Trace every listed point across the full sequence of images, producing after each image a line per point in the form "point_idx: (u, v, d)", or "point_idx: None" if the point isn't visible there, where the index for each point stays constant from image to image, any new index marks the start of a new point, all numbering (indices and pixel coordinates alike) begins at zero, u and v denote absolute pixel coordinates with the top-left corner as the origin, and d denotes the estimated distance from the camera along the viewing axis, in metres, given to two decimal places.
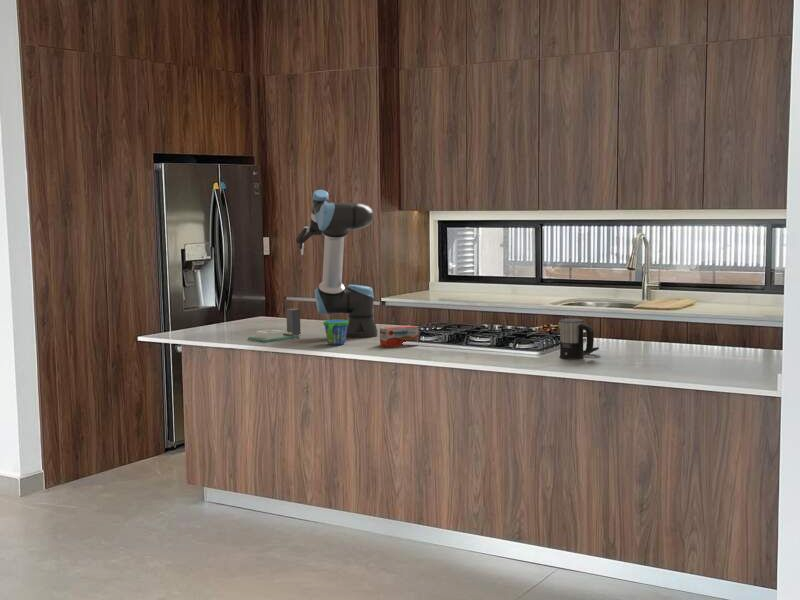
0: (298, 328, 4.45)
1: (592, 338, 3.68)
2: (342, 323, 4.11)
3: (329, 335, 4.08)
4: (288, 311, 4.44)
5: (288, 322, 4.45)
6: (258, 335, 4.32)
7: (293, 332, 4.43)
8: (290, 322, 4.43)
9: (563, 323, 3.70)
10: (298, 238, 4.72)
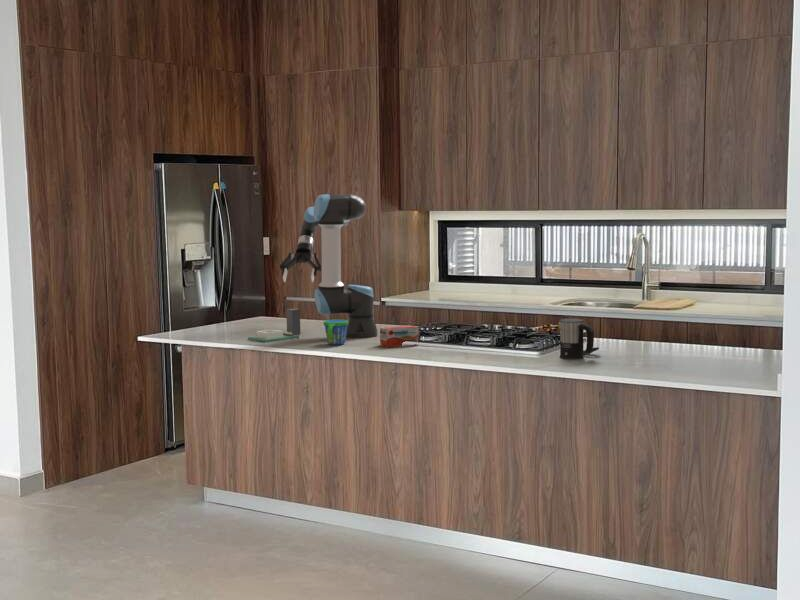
0: (298, 328, 4.45)
1: (592, 338, 3.68)
2: (342, 323, 4.11)
3: (329, 335, 4.08)
4: (288, 311, 4.44)
5: (288, 322, 4.45)
6: (258, 335, 4.32)
7: (293, 332, 4.43)
8: (290, 322, 4.43)
9: (563, 323, 3.71)
10: (282, 264, 4.62)
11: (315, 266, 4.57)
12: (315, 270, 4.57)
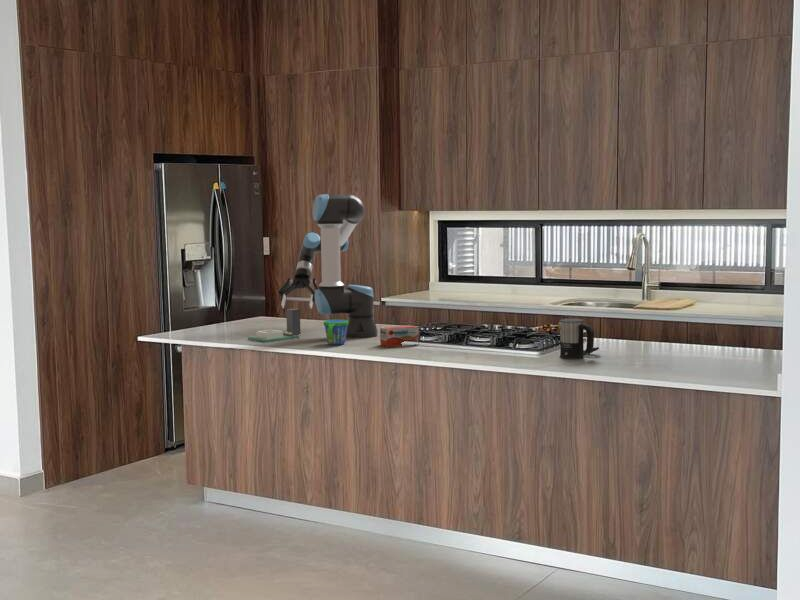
0: (298, 328, 4.45)
1: (592, 338, 3.68)
2: (342, 323, 4.11)
3: (329, 335, 4.08)
4: (288, 311, 4.44)
5: (288, 322, 4.45)
6: (258, 335, 4.32)
7: (293, 332, 4.43)
8: (290, 322, 4.43)
9: (563, 323, 3.71)
10: None
11: (314, 292, 4.55)
12: (314, 296, 4.55)
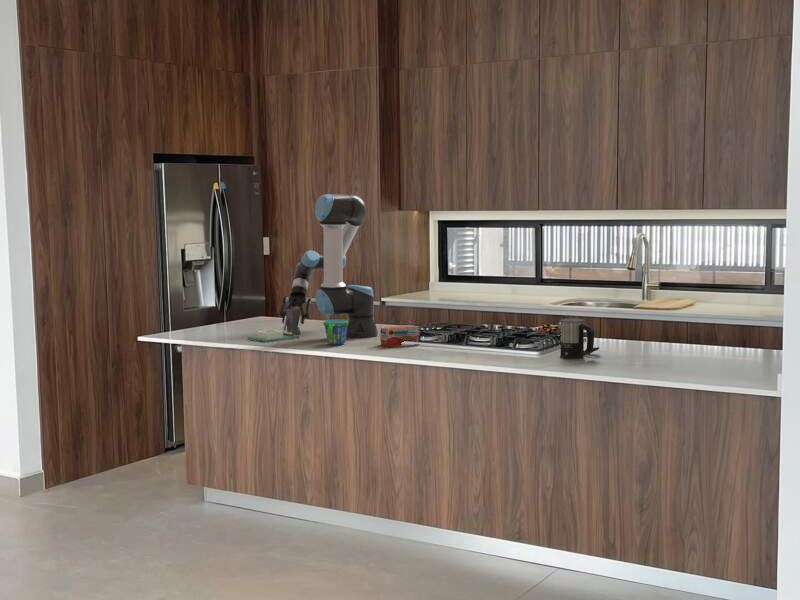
0: None
1: (592, 338, 3.68)
2: (342, 323, 4.11)
3: (329, 335, 4.08)
4: (288, 311, 4.44)
5: (288, 322, 4.45)
6: (258, 335, 4.32)
7: (293, 332, 4.43)
8: (290, 322, 4.43)
9: (563, 323, 3.71)
10: (280, 311, 4.49)
11: (302, 313, 4.45)
12: (302, 318, 4.45)
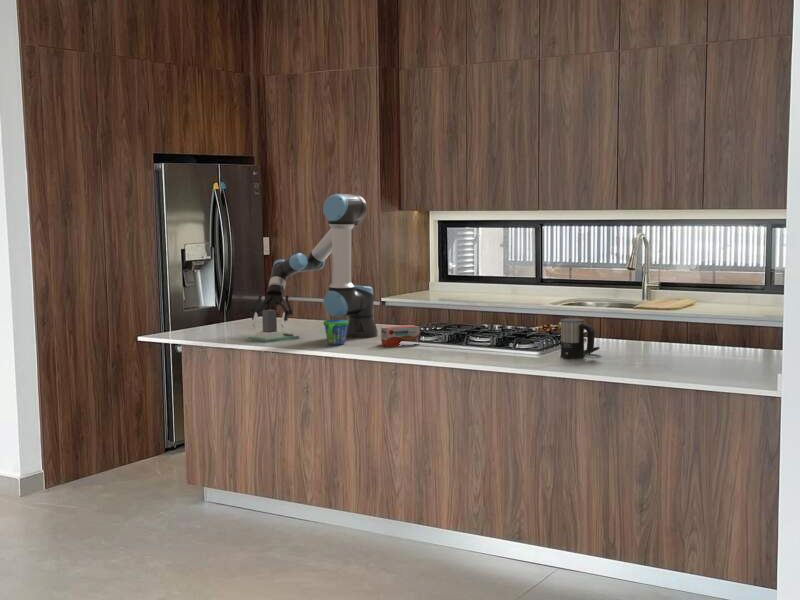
0: (274, 330, 4.31)
1: (593, 338, 3.68)
2: (342, 323, 4.11)
3: (329, 335, 4.08)
4: (264, 312, 4.30)
5: (264, 323, 4.31)
6: (258, 335, 4.32)
7: None
8: (266, 324, 4.30)
9: (564, 323, 3.71)
10: None
11: (286, 310, 4.31)
12: (286, 314, 4.32)
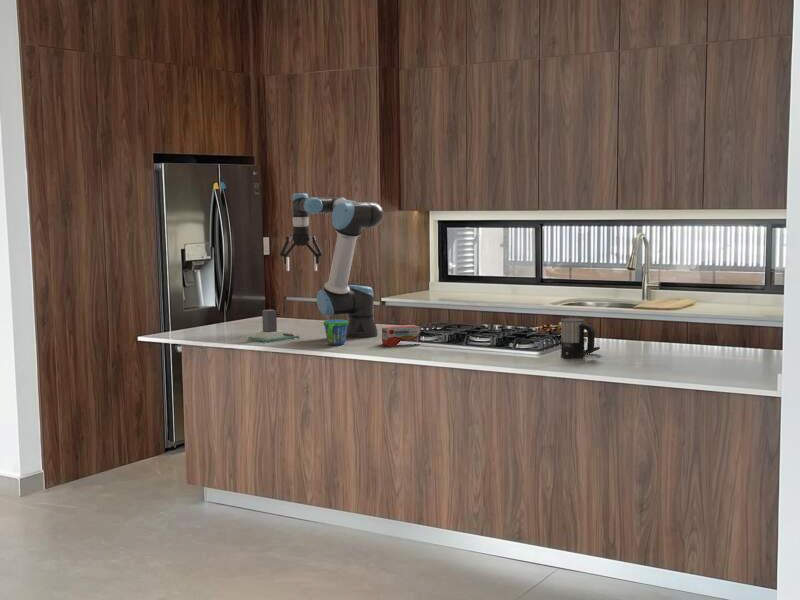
0: (274, 330, 4.31)
1: (593, 338, 3.69)
2: (342, 323, 4.11)
3: (329, 335, 4.08)
4: (264, 312, 4.30)
5: (264, 323, 4.31)
6: (258, 335, 4.32)
7: None
8: (266, 324, 4.30)
9: (564, 323, 3.71)
10: (282, 250, 4.58)
11: (316, 256, 4.54)
12: (317, 258, 4.56)
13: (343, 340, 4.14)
